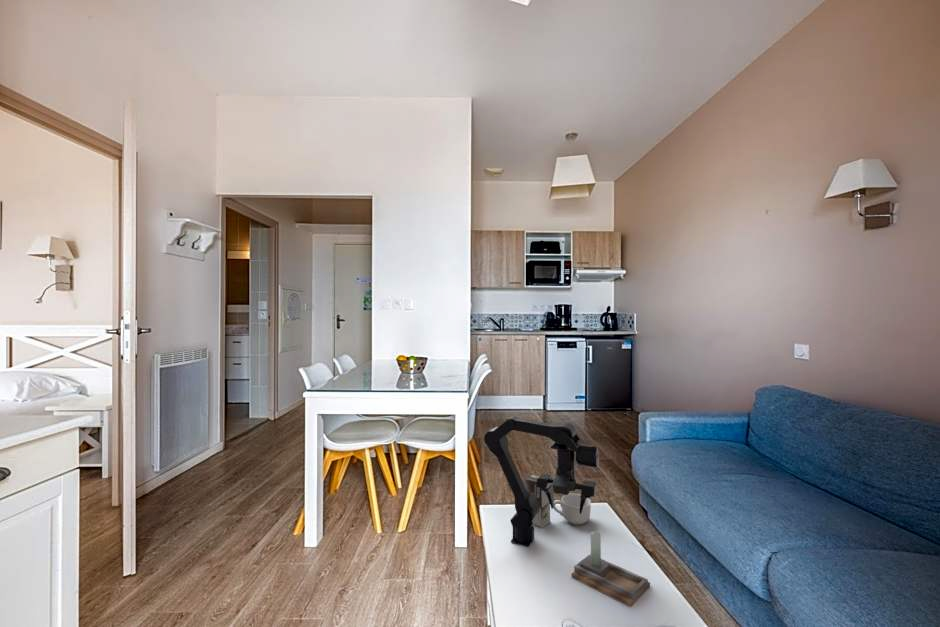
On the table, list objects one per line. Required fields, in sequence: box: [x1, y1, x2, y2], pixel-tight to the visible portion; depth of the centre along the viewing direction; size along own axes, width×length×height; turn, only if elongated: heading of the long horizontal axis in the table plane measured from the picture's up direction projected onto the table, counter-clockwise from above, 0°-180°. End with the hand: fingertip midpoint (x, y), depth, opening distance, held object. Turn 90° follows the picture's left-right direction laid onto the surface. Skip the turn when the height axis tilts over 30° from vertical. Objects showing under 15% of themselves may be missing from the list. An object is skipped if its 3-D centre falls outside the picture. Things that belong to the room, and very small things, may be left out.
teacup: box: [553, 493, 592, 526], centre depth 160 cm, size 14×11×8 cm
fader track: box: [571, 553, 651, 608], centre depth 123 cm, size 18×12×3 cm, turn 44°
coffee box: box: [521, 472, 551, 528], centre depth 160 cm, size 9×6×16 cm
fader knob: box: [581, 530, 611, 577], centre depth 127 cm, size 6×6×11 cm
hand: (566, 510), depth 140 cm, fingers open, 9 cm apart
